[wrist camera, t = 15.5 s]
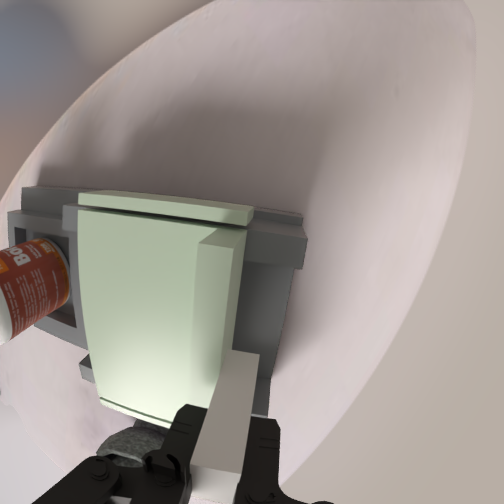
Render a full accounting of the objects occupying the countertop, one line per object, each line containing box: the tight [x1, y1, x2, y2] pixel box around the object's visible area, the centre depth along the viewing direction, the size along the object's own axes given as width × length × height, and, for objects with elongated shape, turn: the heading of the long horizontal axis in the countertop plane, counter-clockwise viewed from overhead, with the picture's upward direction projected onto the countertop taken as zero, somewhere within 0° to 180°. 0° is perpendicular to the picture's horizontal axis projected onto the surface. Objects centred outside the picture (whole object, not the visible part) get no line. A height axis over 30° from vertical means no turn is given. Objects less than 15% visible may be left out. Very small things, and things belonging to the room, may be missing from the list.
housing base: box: [8, 186, 308, 418], centre depth 18 cm, size 24×14×6 cm, turn 82°
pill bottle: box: [0, 238, 72, 345], centre depth 14 cm, size 6×6×11 cm
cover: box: [78, 190, 255, 428], centre depth 14 cm, size 9×15×6 cm, turn 172°
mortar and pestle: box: [96, 419, 170, 467], centre depth 20 cm, size 11×9×12 cm
